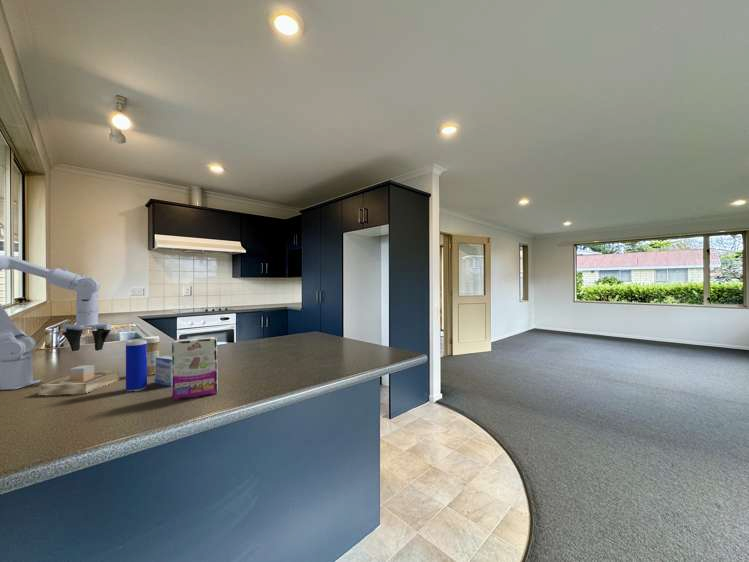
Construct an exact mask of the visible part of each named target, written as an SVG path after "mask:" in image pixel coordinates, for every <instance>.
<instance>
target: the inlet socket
mask: <svg viewBox="0 0 749 562" xmlns="http://www.w3.org/2000/svg"><path fill="white" fill-rule="evenodd" d="M101 377H103V375H94V377H93V378H90V379H88V380H85V381H70V379H67V380H64V381H61V382H59V384H75V383H87V382H90V381H93V380H95V379H98V378H101Z"/></svg>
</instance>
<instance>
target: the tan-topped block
mask: <svg viewBox="0 0 749 562" xmlns="http://www.w3.org/2000/svg"><path fill="white" fill-rule="evenodd" d="M94 372H95V365H94V364H91V365H89V364H87V365H86V364H85V365H79V366H74V367H71V368H69V376H70V381H85V380H88V379H90V378H93V377H94Z"/></svg>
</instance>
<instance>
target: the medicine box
mask: <svg viewBox="0 0 749 562" xmlns="http://www.w3.org/2000/svg"><path fill="white" fill-rule="evenodd" d="M154 376H155V377H154V379H155V382H154V383H155V384H156V385H158V384H161V385H160V386H165V385H166V387H171V386H172V387H173V374H172V355H168V354H167V355H162V356H159V357H157V358H156V374H155V375H154Z"/></svg>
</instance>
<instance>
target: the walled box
mask: <svg viewBox="0 0 749 562" xmlns="http://www.w3.org/2000/svg"><path fill="white" fill-rule="evenodd" d="M94 375H103V377H101V378H98V379H95V380H93V381H90V382H87V383H75V384H59V382H61V381H64V380H67V379H70V375H67V376H64V377H61V378H58V379H55V380H52V381H48V382H45V383H43V384H38V389H37V390H38V396H39V395H45V396H62V395H61V394H71V395H86V394H85V393H87V394H89V393H88V392H90V393H92V392H94V391H96V390H95V389H97V390H99V389H101V387H102V388H104V387H106V386H108V384H109V385H111V384H114V383H116V382H118V381H117V380H119V381H120V371H119V370H118V371H96V372H95V371H94ZM115 381H116V382H115ZM113 382H114V383H113ZM110 383H111V384H110ZM105 385H106V386H105ZM103 386H104V387H103ZM98 388H99V389H98ZM93 390H94V391H93ZM91 391H92V392H91ZM39 397H40V396H39Z"/></svg>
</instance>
